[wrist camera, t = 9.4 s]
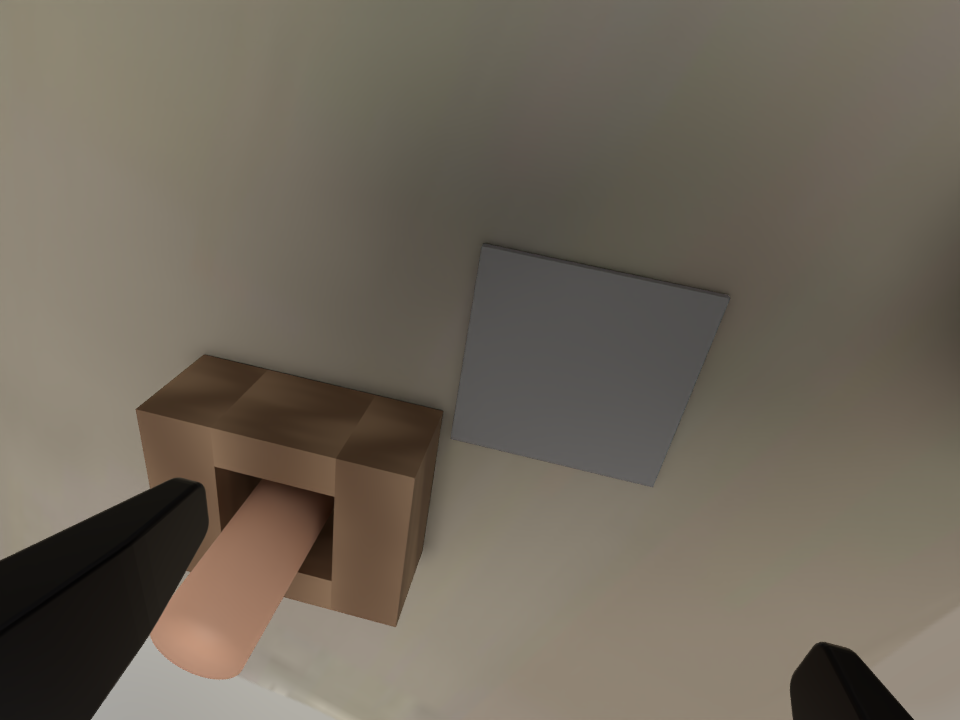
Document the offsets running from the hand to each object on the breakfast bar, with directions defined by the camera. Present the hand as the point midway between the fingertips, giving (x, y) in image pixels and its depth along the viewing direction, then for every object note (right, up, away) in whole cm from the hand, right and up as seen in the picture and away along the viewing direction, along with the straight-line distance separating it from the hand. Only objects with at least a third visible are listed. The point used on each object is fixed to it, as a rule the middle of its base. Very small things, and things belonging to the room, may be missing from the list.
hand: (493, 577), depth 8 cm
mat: (+3, +3, +12) cm, 13 cm away
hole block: (-7, -1, +17) cm, 18 cm away
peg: (-7, -1, +17) cm, 18 cm away
